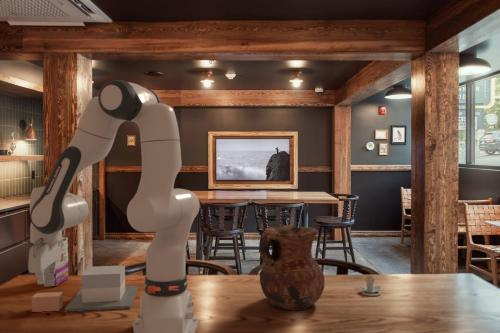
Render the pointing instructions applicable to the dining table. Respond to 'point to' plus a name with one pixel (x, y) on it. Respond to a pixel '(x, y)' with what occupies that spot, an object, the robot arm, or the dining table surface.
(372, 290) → the pacifier
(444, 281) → the dining table surface
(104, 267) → the white stack on tray
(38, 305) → the terracotta brick
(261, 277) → the jug
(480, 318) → the dining table surface
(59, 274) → the candy bar box
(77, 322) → the dining table surface
